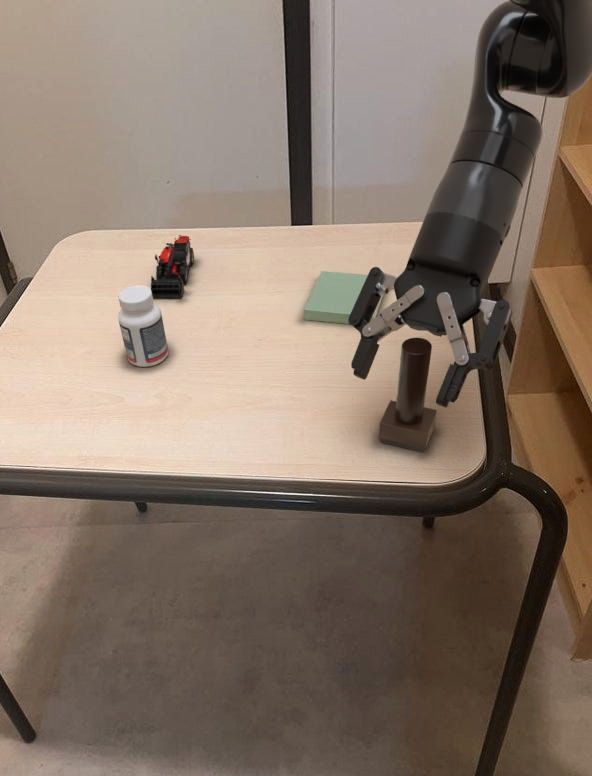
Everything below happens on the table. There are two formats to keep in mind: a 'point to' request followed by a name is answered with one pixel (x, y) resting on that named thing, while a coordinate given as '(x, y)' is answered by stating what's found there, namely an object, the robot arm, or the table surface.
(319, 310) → the tile
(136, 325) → the pill bottle
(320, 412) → the table surface
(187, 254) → the loader
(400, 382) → the brown peg on base
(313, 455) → the table surface
